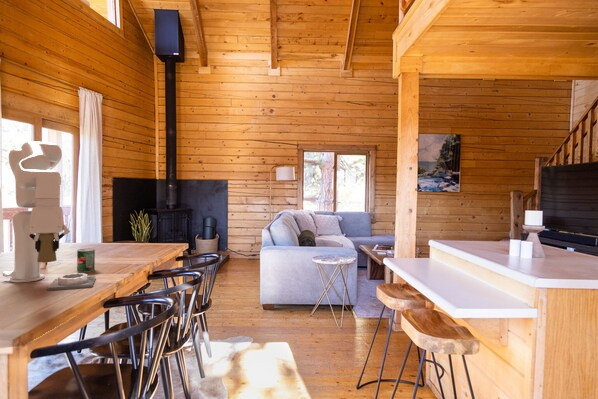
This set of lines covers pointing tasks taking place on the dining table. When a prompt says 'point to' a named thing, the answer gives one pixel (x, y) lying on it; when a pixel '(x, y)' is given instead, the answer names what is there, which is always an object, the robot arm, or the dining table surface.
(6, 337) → the dining table surface
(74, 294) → the dining table surface
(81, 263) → the canned tomato
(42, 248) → the olive tapered shaker
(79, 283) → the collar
